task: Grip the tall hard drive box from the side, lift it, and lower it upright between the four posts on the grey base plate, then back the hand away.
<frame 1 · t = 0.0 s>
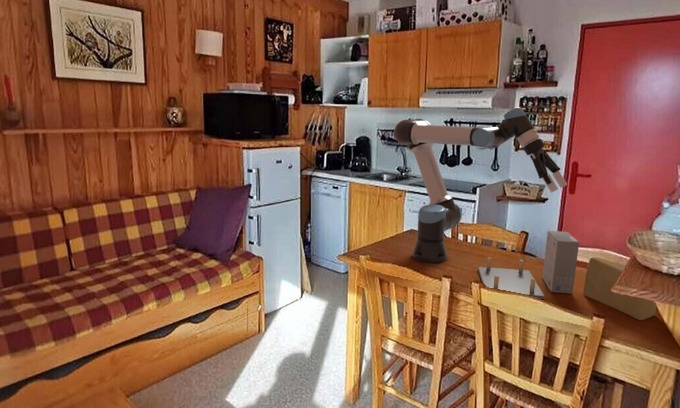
hand: (559, 188, 178), 36 cm above the table, tool tilted 35°, fingers open, 13 cm apart
standoff base: (508, 283, 176), on the table
olive brown block: (614, 306, 158), on the table
hard drive box: (556, 286, 175), on the table
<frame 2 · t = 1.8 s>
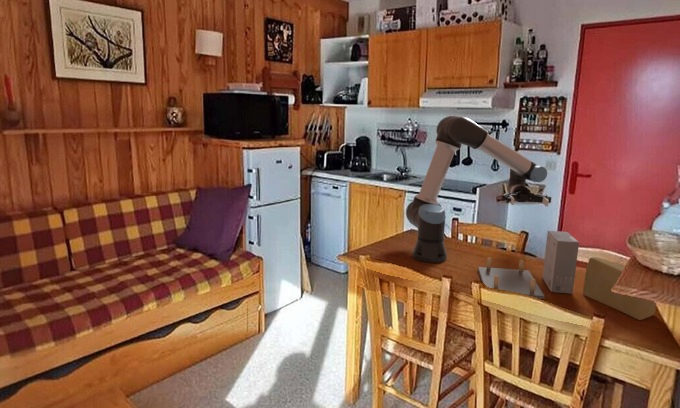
hand: (530, 202, 191), 28 cm above the table, tool horizontal, fingers open, 13 cm apart
nothing on the table moved.
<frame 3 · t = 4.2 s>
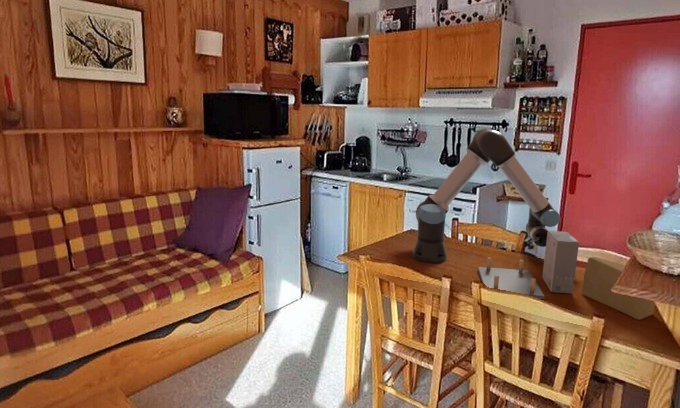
hand: (554, 251, 181), 11 cm above the table, tool horizontal, fingers open, 13 cm apart
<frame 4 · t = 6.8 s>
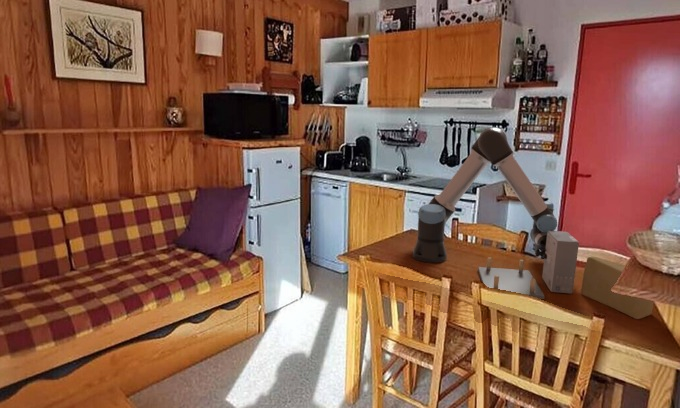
hand: (561, 260, 170), 11 cm above the table, tool horizontal, fingers closed on hard drive box, 8 cm apart
hard drive box: (556, 286, 175), on the table, touching gripper
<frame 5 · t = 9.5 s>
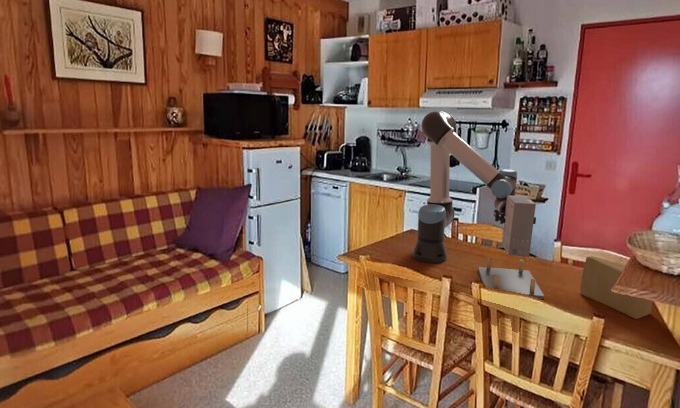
hand: (519, 224, 168), 25 cm above the table, tool horizontal, fingers closed on hard drive box, 7 cm apart
hard drive box: (514, 250, 173), point 13 cm above the table, touching gripper
when the fingers open (14 cm above the table, at t = 12.7 s): hard drive box drops 1 cm, resting on standoff base.
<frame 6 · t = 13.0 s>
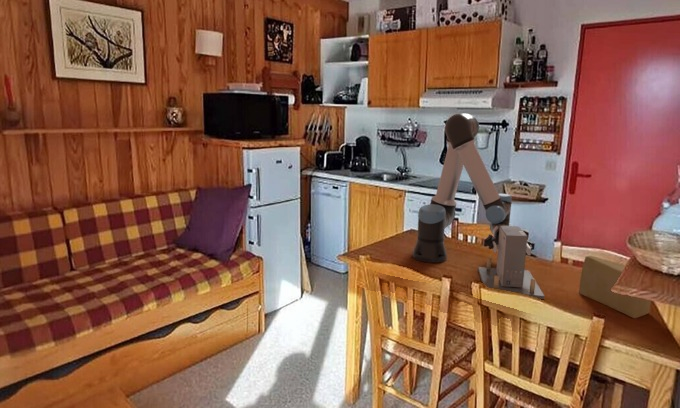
hand: (512, 250, 171), 14 cm above the table, tool horizontal, fingers open, 11 cm apart
hard drive box: (508, 280, 176), point 1 cm above the table, touching standoff base
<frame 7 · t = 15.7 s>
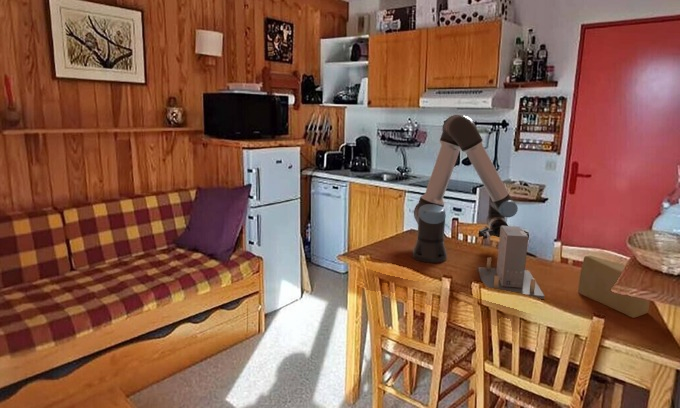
hand: (506, 240, 184), 14 cm above the table, tool horizontal, fingers open, 13 cm apart
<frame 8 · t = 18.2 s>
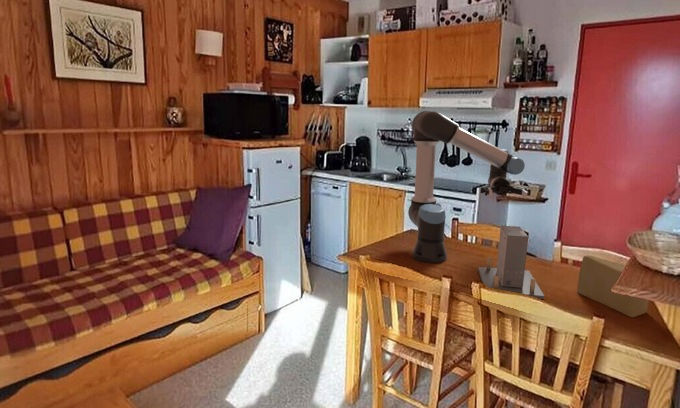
hand: (508, 194, 185), 32 cm above the table, tool horizontal, fingers open, 13 cm apart
at the end: hard drive box 0.1 cm off-centre on the standoff base, point 1.3 cm above the standoff base's base; hard drive box tilted 0°; the gripper is holding nothing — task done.
